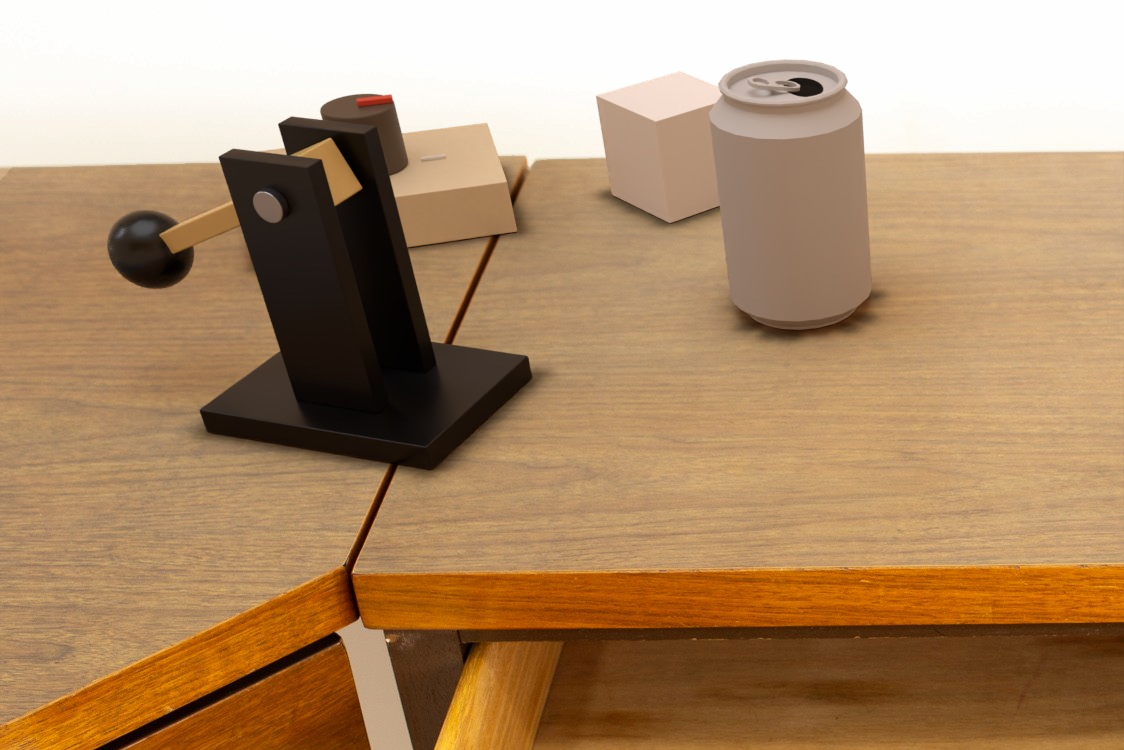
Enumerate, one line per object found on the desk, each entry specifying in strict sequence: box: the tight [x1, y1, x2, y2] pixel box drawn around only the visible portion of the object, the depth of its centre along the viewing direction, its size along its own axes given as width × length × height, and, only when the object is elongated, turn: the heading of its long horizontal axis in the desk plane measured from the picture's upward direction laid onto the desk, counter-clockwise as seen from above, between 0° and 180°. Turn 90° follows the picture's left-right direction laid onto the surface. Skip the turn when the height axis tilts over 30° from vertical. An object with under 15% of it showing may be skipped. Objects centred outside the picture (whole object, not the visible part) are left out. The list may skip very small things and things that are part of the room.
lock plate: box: [257, 122, 518, 248], centre depth 92 cm, size 14×10×3 cm
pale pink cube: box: [595, 70, 722, 224], centre depth 94 cm, size 6×6×6 cm
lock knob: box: [319, 93, 408, 175], centre depth 90 cm, size 4×4×4 cm
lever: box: [106, 138, 362, 290], centre depth 71 cm, size 14×4×4 cm, turn 74°
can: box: [709, 58, 873, 331], centre depth 80 cm, size 8×8×12 cm
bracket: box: [198, 115, 533, 470], centre depth 72 cm, size 12×9×13 cm
